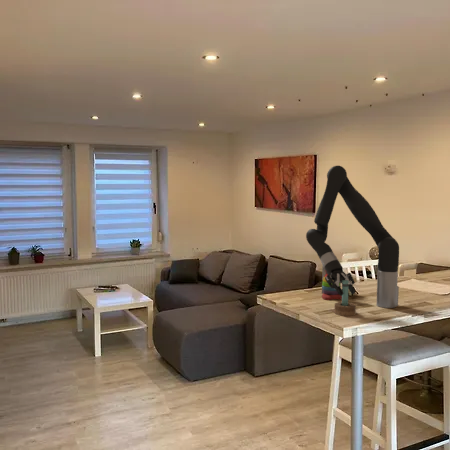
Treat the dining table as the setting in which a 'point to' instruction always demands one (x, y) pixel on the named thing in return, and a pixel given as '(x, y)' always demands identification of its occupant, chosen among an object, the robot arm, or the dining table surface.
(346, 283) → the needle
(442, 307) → the dining table surface
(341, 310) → the brown thick ring
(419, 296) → the dining table surface
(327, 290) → the stacking bear
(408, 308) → the dining table surface
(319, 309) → the dining table surface
